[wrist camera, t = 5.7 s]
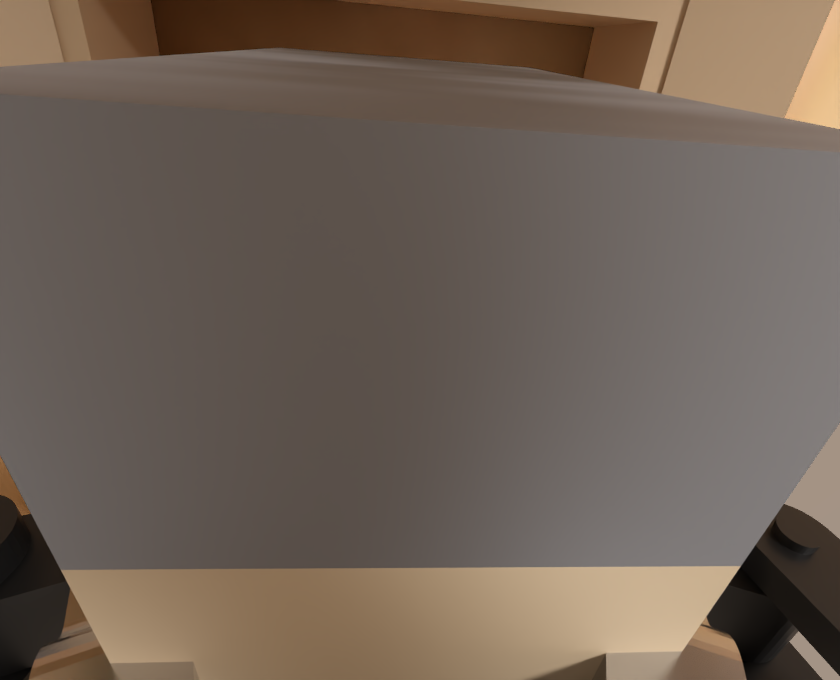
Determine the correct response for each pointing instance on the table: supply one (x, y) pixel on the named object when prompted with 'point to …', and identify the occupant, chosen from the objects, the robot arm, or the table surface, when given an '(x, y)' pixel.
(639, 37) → the carton
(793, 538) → the robot arm
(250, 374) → the beige and gray box
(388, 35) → the table surface
